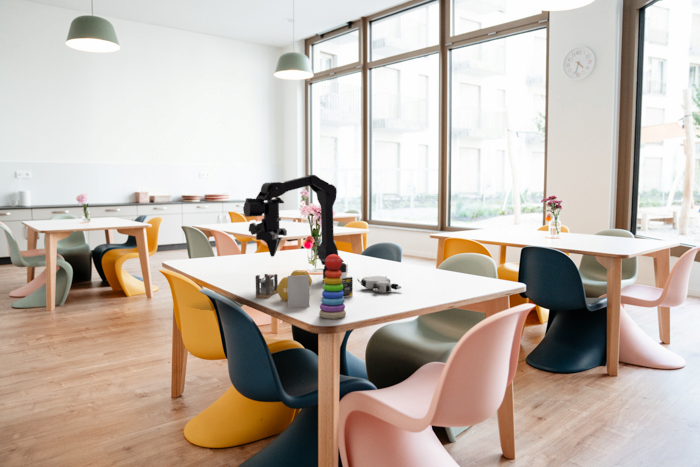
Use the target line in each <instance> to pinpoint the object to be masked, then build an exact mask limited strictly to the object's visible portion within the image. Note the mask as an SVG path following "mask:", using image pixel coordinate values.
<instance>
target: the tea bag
mask: <svg viewBox="0 0 700 467" xmlns="http://www.w3.org/2000/svg"><path fill="white" fill-rule="evenodd" d="M309 275H310V274H309ZM309 275H301V276H290V275H288V276H287V277H288V301H287V307H288V309H290V308H308V307H310V306H311V305H310V287H309Z"/></svg>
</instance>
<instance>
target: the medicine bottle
mask: <svg viewBox="0 0 700 467" xmlns="http://www.w3.org/2000/svg"><path fill="white" fill-rule="evenodd" d="M348 267H349V265H348V263H347V262H345V261H344V262H342V265H341V267H340V269H339V270H340V271H341V272H342V275H341V277H340V278H342V283H341V284H342V285H343V289H342V291H343V292H344V295H343V297H344V298H348V297H353V291H354V290H353V289H354V288H353V286H354V285H353V276H352V275H348V273H349V272H348V270H349V268H348Z"/></svg>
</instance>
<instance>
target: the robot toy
mask: <svg viewBox="0 0 700 467" xmlns="http://www.w3.org/2000/svg"><path fill="white" fill-rule="evenodd" d="M356 280H357V281H358V282H359V283H360V285H361V286H363V288H365V289H366V290H368V291H369V290H371V291H373V292H374V293H375V292H379V293H380V294H387V293H389V292H391V291H392V290H395V291H396V290H400V289H402V286H400V285H399V284H397V283H391V280H390V279H389V278H388V277H387V276H386V275H385V276H381V275H380V276H379V275H374V276H373V275H372V276H370V275H369V276H363V277H362V279H361V280H360V279H359V278H357V279H356Z"/></svg>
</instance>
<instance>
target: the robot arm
mask: <svg viewBox="0 0 700 467" xmlns="http://www.w3.org/2000/svg"><path fill="white" fill-rule="evenodd" d="M305 187H309V188H310V189H311V190H312V191H313V192H314V193H316V197H317V201H318V203H319V205H320V216H321V217H320V218H321V219H320V220H321V222H320V224H321V242H320V244H317V245H316V250H317V252H316V256H318V259H319V261H320V262H321V265H323V267H324V268H323V269H322V279H323V282H324V278H325V277H326V276H325V272H326V271H327V270H328V269H327V268H326V265H325V260H326V258H327V257H328V256H329V255H331V254H336V255H338V256H339V251H338V246H337V245H336V243H335V238H334V236H335V235H334V211H333V210H334V204H335V202H336V201H337V192H338V191H337V187H336V186H335V185H334V184H332V183H331V184H329V183H328V181H325V180H324V179H321V178H320V177H318V176H317V175H315V174H308V175H306V176H302V177H298V178H293V179H289V180H285V181H280V182H279V181H277V182H276V181H275V182H274V181H273V182H272V181H271V182H264V183H262V186H261V188H260V191H259V192H258V194H257V195H256V197H255V198H253V197H252V198H249V197H247V198H245V202H244V204H243V209H242V210H243V215H244V216H245V217H246V218H247V217H248V218H249V217H251V218H252V217H262V216H263V218H262V219H261V222H260V223H257V224H256V222H252V223H250V224H249V226H248V232H250V234H251V236H253V235H255V238H256V241H257V240H258V241H261V240H262V241H263V242H264V243H266V246H267V248H268V251H269V255H270V257H272V258H273V257H275V255H276V253H277V251H278V248H279V246H280V243H281V241H282V239H283V237H284V236H285V237H286V236H288V235H287V232H288V231H287V229H286V228H284V227H283V228H282V227H281V228H280V221H282V219H281V217H280V204H284V203H285V202H284V200H283V199H282V198H281V197H280V196H284V195H285V193H287V192H289V191H293V190H298V189H301V188H305ZM279 236H283V237H279ZM341 260H342V262H345V261H344V259H342V258H341Z"/></svg>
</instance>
